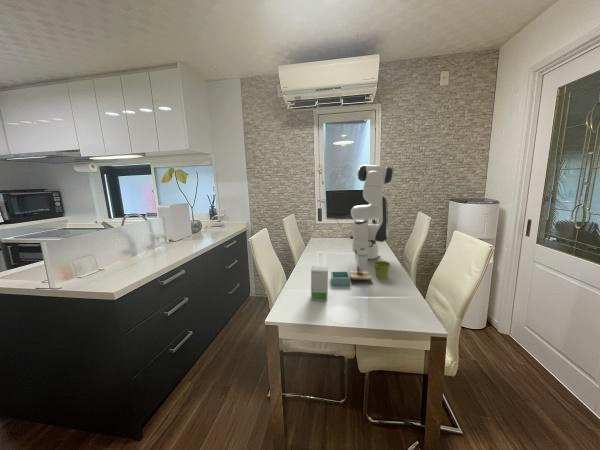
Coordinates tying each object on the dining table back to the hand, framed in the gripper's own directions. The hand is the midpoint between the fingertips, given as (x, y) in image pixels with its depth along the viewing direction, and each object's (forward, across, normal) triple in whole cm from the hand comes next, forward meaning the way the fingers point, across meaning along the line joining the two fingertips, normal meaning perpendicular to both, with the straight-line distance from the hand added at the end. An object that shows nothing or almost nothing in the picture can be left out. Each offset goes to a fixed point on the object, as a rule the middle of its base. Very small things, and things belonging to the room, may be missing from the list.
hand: (359, 271), depth 145 cm
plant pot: (+6, -4, +13) cm, 15 cm away
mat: (+6, +1, 0) cm, 6 cm away
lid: (+3, 0, 0) cm, 3 cm away
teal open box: (+6, +4, -12) cm, 13 cm away
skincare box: (+6, +22, -23) cm, 33 cm away
